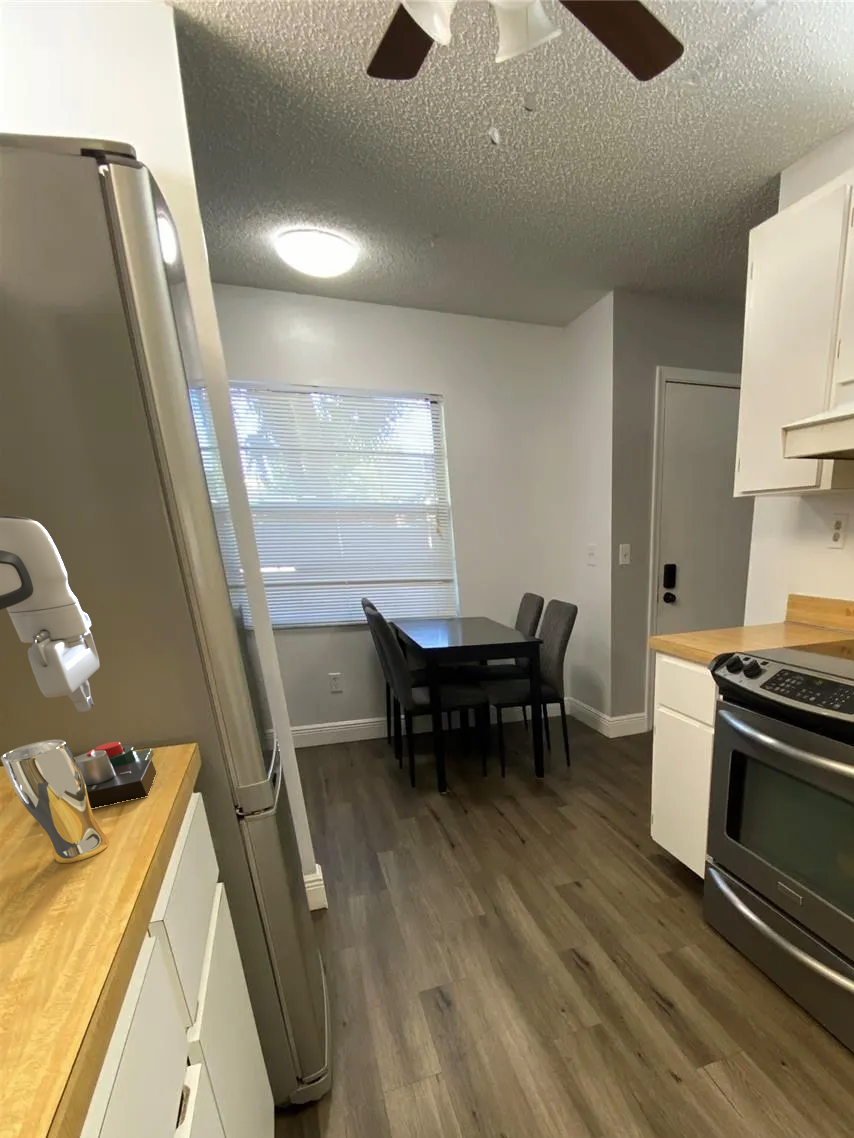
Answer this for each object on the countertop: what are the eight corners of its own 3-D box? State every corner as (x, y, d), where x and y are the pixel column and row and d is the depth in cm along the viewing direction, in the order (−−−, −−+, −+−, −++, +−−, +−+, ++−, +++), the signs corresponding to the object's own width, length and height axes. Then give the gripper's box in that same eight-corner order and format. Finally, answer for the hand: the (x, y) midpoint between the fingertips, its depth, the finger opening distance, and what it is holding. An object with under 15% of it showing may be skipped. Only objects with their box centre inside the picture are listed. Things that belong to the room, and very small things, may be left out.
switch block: (80, 789, 106) (70, 768, 104) (92, 772, 112) (82, 752, 111) (148, 774, 109) (139, 753, 107) (155, 759, 116) (147, 738, 114)
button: (97, 760, 107) (92, 751, 106) (102, 753, 110) (97, 744, 109) (121, 755, 108) (117, 746, 108) (125, 749, 111) (121, 739, 111)
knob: (112, 780, 100) (101, 755, 98) (79, 787, 98) (68, 762, 97) (118, 770, 104) (107, 746, 102) (86, 777, 102) (75, 752, 100)
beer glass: (113, 851, 85) (65, 748, 78) (49, 871, 81) (-6, 766, 75) (113, 832, 90) (68, 734, 84) (53, 850, 87) (2, 749, 80)
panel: (50, 819, 96) (41, 801, 95) (68, 794, 104) (60, 777, 103) (147, 797, 100) (140, 779, 99) (157, 774, 109) (150, 757, 107)
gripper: (57, 633, 92) (94, 723, 97) (90, 613, 109) (120, 690, 115) (3, 640, 90) (44, 731, 95) (46, 619, 107) (79, 697, 112)
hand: (86, 709), depth 105 cm, fingers closed
